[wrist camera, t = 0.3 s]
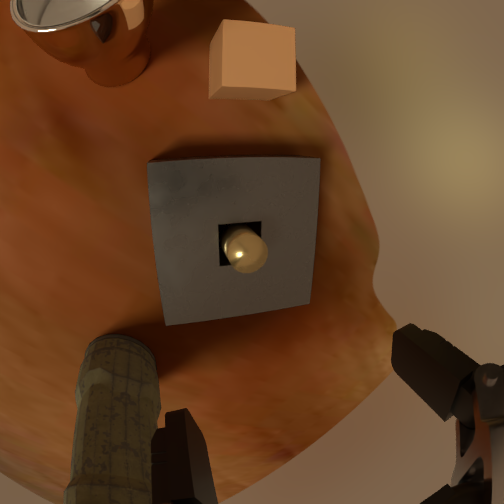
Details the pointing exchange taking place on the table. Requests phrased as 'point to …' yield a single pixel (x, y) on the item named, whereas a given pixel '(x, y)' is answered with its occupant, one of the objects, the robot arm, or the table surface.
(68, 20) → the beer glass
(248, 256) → the pin
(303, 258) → the plate
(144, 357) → the green stone statue
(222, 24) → the light brown cube
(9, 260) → the table surface
